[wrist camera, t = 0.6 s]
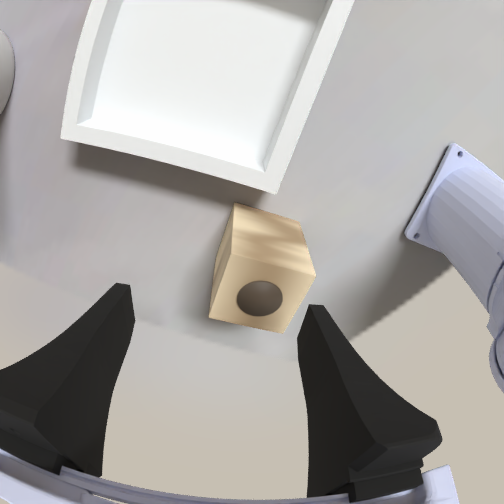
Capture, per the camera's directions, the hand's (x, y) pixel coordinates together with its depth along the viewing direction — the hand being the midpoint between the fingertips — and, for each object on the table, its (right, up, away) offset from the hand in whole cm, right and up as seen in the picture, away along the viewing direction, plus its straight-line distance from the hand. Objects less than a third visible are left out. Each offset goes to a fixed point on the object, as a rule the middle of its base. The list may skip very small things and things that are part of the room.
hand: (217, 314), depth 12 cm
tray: (-1, +14, +2) cm, 14 cm away
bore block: (+2, +3, +9) cm, 10 cm away
